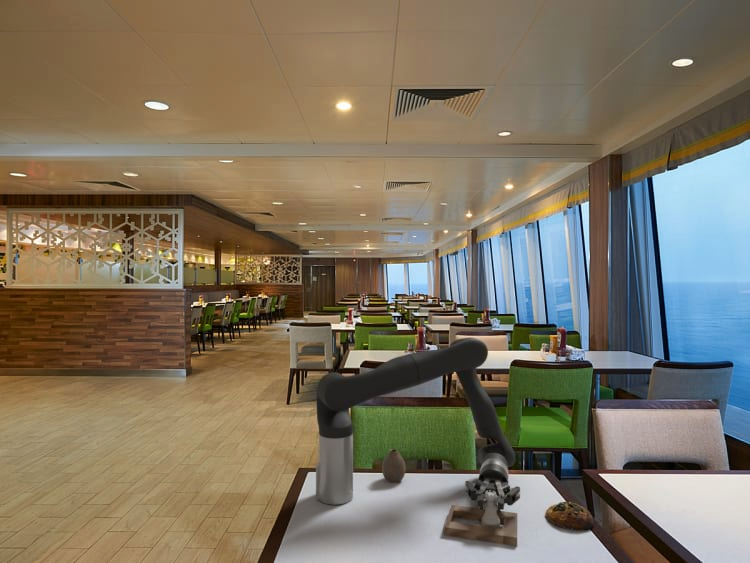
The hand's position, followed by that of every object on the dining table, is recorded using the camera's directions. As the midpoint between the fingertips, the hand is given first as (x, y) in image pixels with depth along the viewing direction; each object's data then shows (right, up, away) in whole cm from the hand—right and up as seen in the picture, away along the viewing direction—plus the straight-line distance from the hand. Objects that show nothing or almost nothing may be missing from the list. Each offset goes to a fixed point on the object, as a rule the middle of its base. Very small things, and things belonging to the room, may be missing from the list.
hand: (490, 506), depth 108 cm
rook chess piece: (+1, -6, +3) cm, 7 cm away
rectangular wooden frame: (-1, -7, +3) cm, 7 cm away
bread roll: (+21, -7, +7) cm, 23 cm away
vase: (-21, -7, +31) cm, 38 cm away
